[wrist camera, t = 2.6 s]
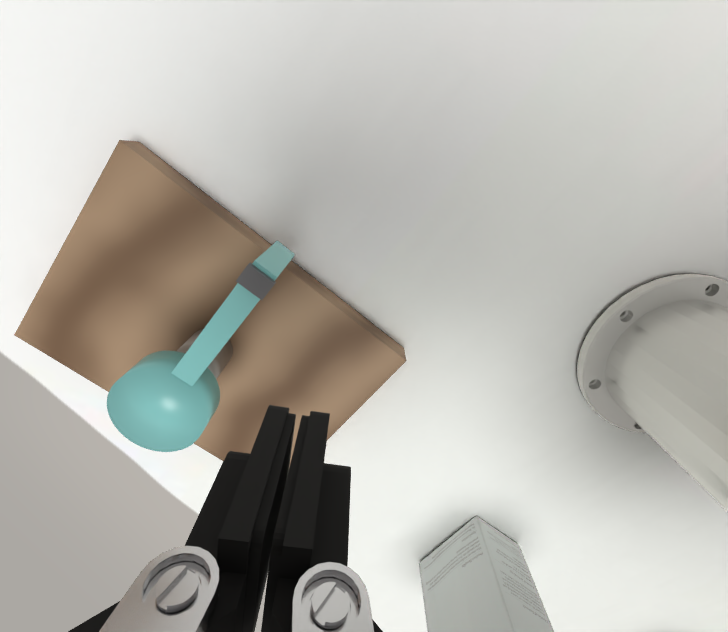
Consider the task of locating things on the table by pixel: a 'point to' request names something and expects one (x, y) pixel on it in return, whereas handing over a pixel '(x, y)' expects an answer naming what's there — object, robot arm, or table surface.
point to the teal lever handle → (188, 369)
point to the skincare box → (480, 585)
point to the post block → (199, 305)
